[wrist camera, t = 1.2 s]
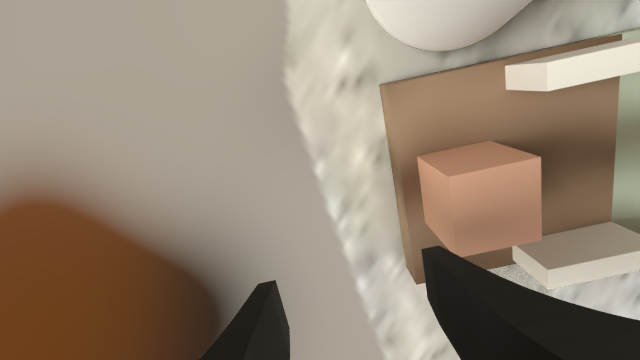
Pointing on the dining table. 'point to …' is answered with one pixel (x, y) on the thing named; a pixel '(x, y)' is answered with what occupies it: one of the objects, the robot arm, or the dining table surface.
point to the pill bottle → (443, 20)
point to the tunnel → (597, 240)
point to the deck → (521, 142)
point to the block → (482, 197)
